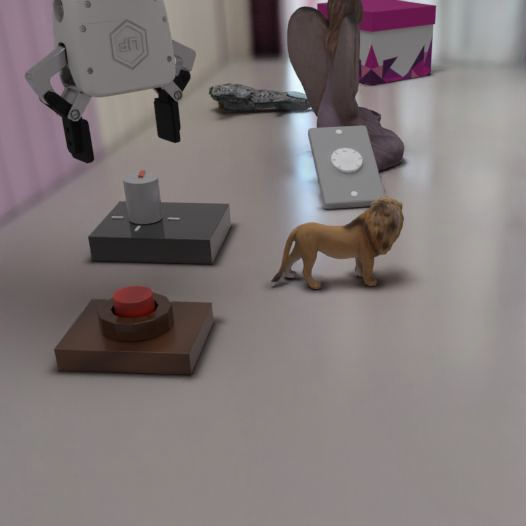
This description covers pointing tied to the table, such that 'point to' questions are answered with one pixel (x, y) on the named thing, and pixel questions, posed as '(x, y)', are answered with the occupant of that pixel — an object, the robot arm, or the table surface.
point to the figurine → (337, 73)
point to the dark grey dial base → (163, 235)
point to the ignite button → (133, 302)
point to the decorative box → (394, 40)
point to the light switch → (345, 166)
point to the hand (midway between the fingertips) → (127, 149)
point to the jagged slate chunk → (256, 98)
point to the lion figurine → (345, 241)
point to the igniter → (136, 338)
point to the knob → (142, 198)
